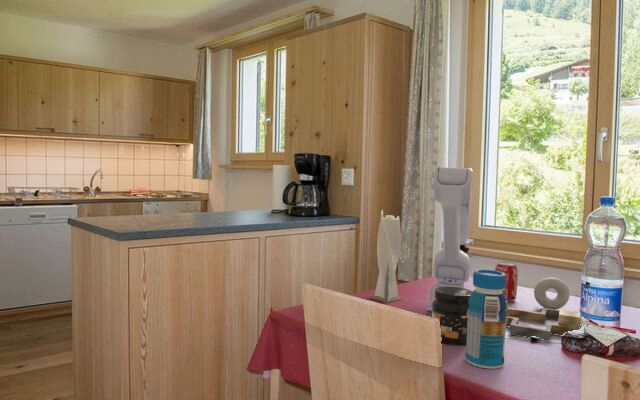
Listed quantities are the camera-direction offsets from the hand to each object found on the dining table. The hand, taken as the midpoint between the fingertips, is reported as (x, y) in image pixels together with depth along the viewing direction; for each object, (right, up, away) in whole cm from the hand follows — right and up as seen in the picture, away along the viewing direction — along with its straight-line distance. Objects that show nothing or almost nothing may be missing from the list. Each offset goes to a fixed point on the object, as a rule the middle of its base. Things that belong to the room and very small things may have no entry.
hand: (456, 269), depth 161 cm
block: (+22, -13, -28) cm, 38 cm away
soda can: (+16, -11, +3) cm, 20 cm away
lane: (+16, -12, -24) cm, 31 cm away
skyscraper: (-23, -9, -1) cm, 25 cm away
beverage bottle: (-8, -14, -51) cm, 53 cm away
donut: (+27, -12, -7) cm, 30 cm away
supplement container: (-11, -12, -36) cm, 40 cm away
